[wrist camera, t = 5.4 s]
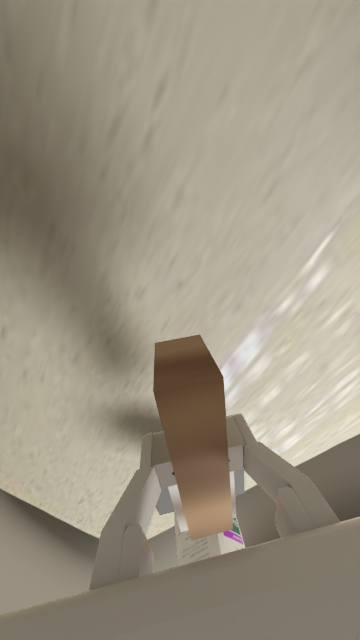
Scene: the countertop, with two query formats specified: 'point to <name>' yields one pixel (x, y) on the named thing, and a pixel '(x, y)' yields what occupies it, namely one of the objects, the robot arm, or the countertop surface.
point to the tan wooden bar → (195, 435)
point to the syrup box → (206, 544)
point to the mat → (166, 503)
